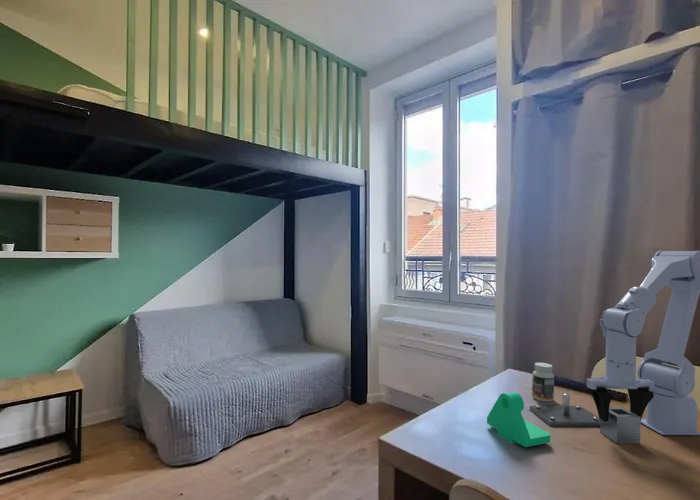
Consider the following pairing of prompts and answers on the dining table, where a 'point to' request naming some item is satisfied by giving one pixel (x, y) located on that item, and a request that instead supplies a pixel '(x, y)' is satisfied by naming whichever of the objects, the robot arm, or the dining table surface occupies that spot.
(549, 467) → the dining table surface
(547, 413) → the dark grey mounting plate
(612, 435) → the grey square socket
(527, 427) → the camera mount
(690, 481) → the dining table surface
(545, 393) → the pill bottle
